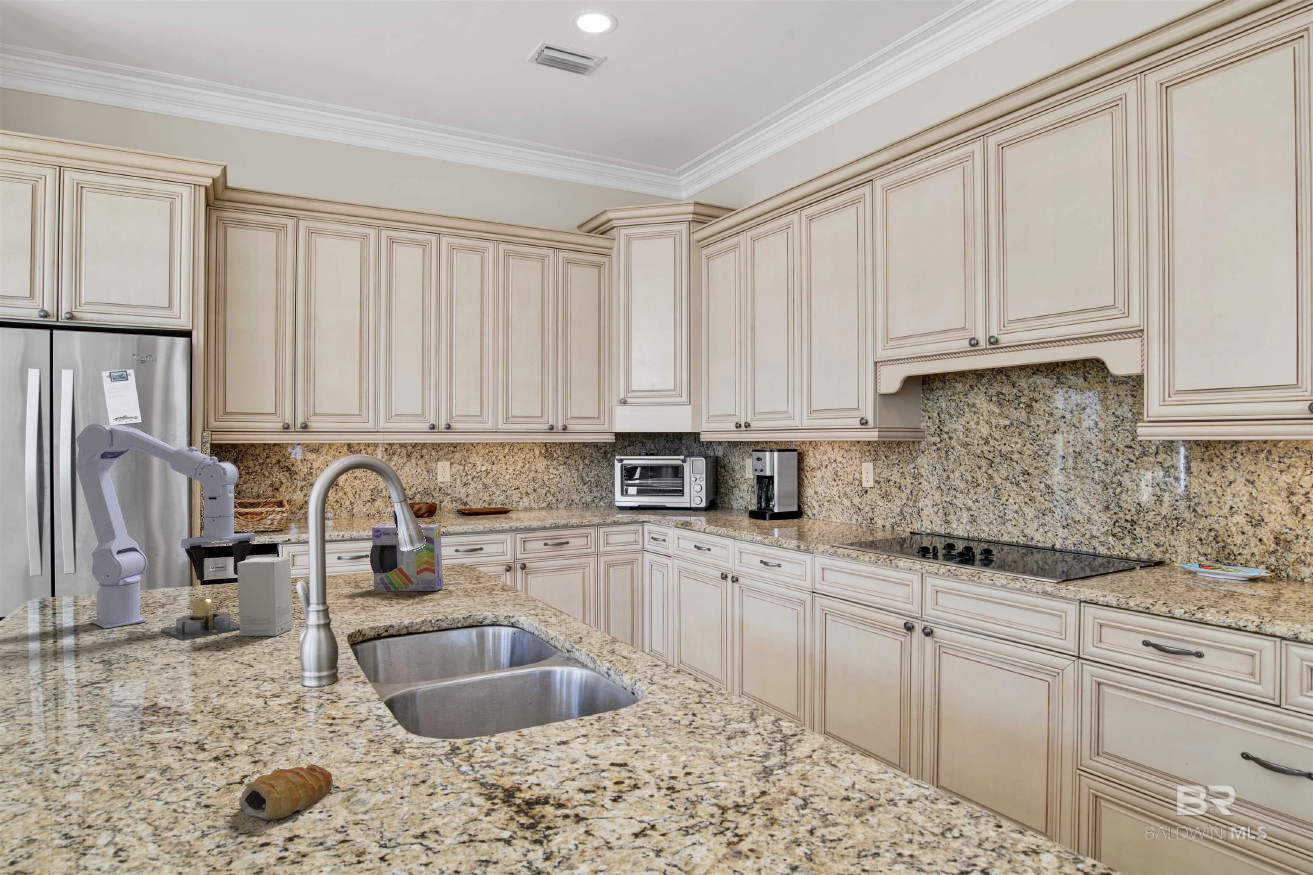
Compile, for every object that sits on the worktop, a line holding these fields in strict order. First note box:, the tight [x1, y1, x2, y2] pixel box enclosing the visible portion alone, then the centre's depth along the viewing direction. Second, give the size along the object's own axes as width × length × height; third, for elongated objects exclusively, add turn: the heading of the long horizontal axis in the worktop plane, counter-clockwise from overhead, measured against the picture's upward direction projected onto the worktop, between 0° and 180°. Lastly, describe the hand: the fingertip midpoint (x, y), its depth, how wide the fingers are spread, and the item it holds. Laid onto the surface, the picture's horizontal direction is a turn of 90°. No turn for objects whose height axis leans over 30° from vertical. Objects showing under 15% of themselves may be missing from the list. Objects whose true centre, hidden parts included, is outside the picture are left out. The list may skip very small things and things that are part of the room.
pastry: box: [238, 765, 334, 821], centre depth 83 cm, size 9×7×4 cm
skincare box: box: [237, 556, 294, 637], centre depth 155 cm, size 8×7×16 cm
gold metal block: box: [192, 597, 214, 630], centre depth 157 cm, size 5×4×6 cm
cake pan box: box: [369, 523, 444, 592], centre depth 200 cm, size 19×5×18 cm, turn 80°
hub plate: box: [160, 611, 240, 641], centre depth 158 cm, size 12×12×3 cm
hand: (219, 577), depth 165 cm, fingers open, 7 cm apart
